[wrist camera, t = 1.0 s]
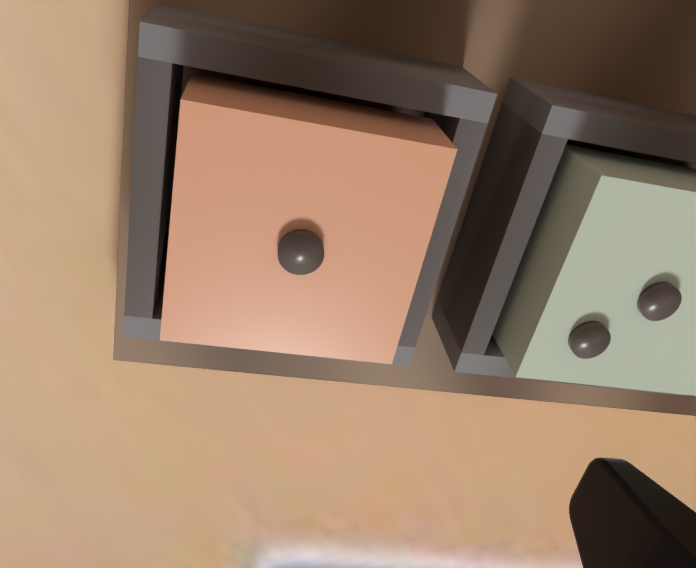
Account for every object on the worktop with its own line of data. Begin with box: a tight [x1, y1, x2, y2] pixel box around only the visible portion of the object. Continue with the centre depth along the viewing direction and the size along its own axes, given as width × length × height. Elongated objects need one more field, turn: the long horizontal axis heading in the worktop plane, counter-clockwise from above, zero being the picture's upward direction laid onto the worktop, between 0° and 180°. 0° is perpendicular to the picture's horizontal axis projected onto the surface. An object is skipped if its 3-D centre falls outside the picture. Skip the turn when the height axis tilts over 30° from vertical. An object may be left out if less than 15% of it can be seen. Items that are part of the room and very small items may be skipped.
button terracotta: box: [160, 74, 458, 364], centre depth 13 cm, size 5×5×2 cm
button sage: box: [492, 144, 696, 396], centre depth 15 cm, size 5×5×2 cm
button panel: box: [113, 0, 696, 416], centre depth 17 cm, size 24×12×4 cm, turn 78°
